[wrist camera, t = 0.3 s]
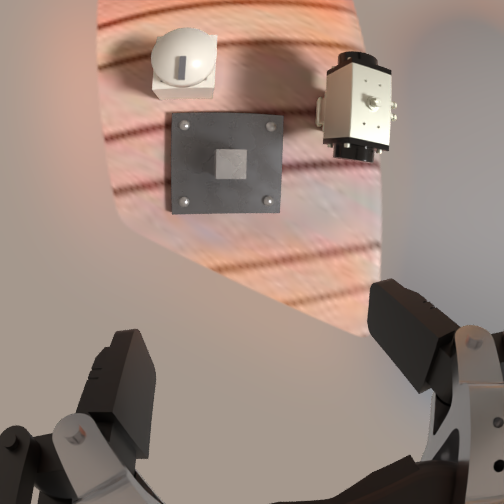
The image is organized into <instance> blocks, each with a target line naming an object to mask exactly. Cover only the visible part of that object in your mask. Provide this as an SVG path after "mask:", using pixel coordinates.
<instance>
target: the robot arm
mask: <svg viewBox="0 0 504 504" xmlns="http://www.w3.org/2000/svg"><path fill="white" fill-rule="evenodd" d="M367 323H368V329H369V332H370V334H371V335H372V337H373V338H374V339H375V340H376V341H377V343H378V344H379V345H380V346H381V347H382V349H383V350H384V351H385V352H386V353H387V355H388V356H389V357H390V358H391V360H392V361H393V362H394V363H395V364H396V366H397V367H398V368H399V369H400V370H401V372H402V373H403V374H404V376H405V377H406V378H407V379H408V380H409V382H410V383H411V384H412V385H413V387H414V388H415V389H416V390H417V392H418V393H419V394H420V393H422V392H424V391H426V390H428V389H430V388H432V389H433V391H434V392H433V395H432V399H431V414H430V424H429V433H428V441H427V445H426V448H425V451H424V453H423V455H422V458H421V461H420V462H414V460H413V458H412V457H411V455H408V456H406V457H404V458H402V459H400V460H398V461H396V462H394V463H392V464H390V465H388V466H386V467H383V468H381V469H379V470H377V471H374V472H372V473H371V474H369V475H368V476H366V477H365V478H363V479H362V480H360V481H359V482H358V483H356V484H354V485H353V486H351V487H350V488H348V489H347V490H345V491H344V492H342V493H340V494H339V495H337V496H335V497H333V498H330V499H325V500H314V501H296V502H276V503H272V504H504V331H503V332H499V333H495V334H490V333H489V332H488V331H487V330H485V329H483V328H481V327H479V326H475V325H466V326H463V327H460V326H458V325H457V324H456V323H455V322H453V321H452V320H451V319H450V318H449V317H448V316H446V315H445V314H444V313H443V312H441V311H440V310H439V309H438V308H435V307H434V305H432V304H431V303H430V302H427V300H426V299H425V298H424V297H422V296H421V295H420V294H419V293H417V292H414V291H411V290H409V289H407V288H404V287H403V286H402V285H400V284H399V283H397V282H396V281H395V280H394V279H387V280H383V281H380V282H376V283H373V284H372V285H371V287H370V296H369V308H368V318H367ZM155 384H156V372H155V368H154V364H153V362H152V360H151V357H150V355H149V352H148V350H147V347H146V345H145V343H144V340H143V338H142V335H141V333H140V331H139V330H138V329H131V330H123V331H117V332H116V333H115V334H114V337H113V339H112V342H111V345H110V347H105V348H104V349H103V350H102V351H101V352H100V353H99V355H98V356H97V357H96V358H95V361H94V363H93V366H92V371H90V374H89V376H88V380H87V382H86V384H85V387H84V390H83V393H82V395H81V398H80V401H79V404H78V407H77V410H76V413H74V414H70V415H68V416H66V417H64V418H63V419H61V420H60V421H59V422H58V423H57V425H56V426H55V428H54V430H53V433H51V434H46V435H42V436H36V437H32V435H31V434H30V433H29V432H28V431H27V430H26V429H25V428H24V427H22V426H11V427H9V428H7V429H6V430H4V431H3V433H2V434H1V435H0V504H31V499H32V493H33V487H34V486H35V487H36V488H37V489H39V490H40V493H39V498H38V504H165V503H164V502H163V501H162V500H161V498H160V497H159V496H158V495H157V494H156V493H155V492H154V491H153V489H152V488H151V487H150V486H149V485H148V483H147V482H146V481H145V480H144V479H143V477H142V476H141V475H140V474H139V472H138V471H137V470H136V469H135V463H136V459H148V456H149V443H150V431H151V420H152V411H153V401H154V393H155Z"/></svg>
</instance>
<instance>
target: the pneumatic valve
mask: <svg viewBox="0 0 504 504" xmlns="http://www.w3.org/2000/svg"><path fill="white" fill-rule="evenodd" d="M391 108H392V109H396V108H397V103H395V102H392V101H391V70H389V69H387V68H384V67H381V66H378V62H377V59H376V58H375V57H373V56H371V55H369V54H366V53H362V52H353V51H351V52H343V53H341V54H339V56H338V65H337V66H333V67H332V69H330V70H328V71H327V83H326V92H325V97H324V99H323V98H322V97H319V98H318V100H317V102H316V119H315V124H316V125H317V127H321V125H323V132H324V136H323V144H327V145H328V147H330V148H333V146H334V149H333V157H334V158H338V159H344V160H351V161H358V162H365V163H374V151H376V153H378V154H382V151H389V139H390V121H391V120H392V121H396V119H397V116H396V115H395V114H393V113H391Z"/></svg>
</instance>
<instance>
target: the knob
mask: <svg viewBox="0 0 504 504" xmlns="http://www.w3.org/2000/svg"><path fill="white" fill-rule="evenodd" d="M216 56H217V35H208V34H207V33H205V32H203V31H201V30H199V29H195V28H179V29H176V30H173V31H170V32H168V33H167V34H165V35H164V36H162V37H157V41H156V44H155V46H154V48H153V50H152V54H151V64H152V67H153V69H154V71H153V83H152V90H153V92H154V93H155V94H156V95H157V97H158V98H159V99H160V100H176V99H212V98H213V93H214V85H215V66H216ZM206 78H207V80H205V79H206Z"/></svg>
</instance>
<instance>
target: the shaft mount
mask: <svg viewBox="0 0 504 504" xmlns="http://www.w3.org/2000/svg"><path fill="white" fill-rule="evenodd" d="M283 120H284V116H280V115H267V114H250V113H172V135H171V194H172V215H173V214H213V213H280V197H281V175H282V150H283Z"/></svg>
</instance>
